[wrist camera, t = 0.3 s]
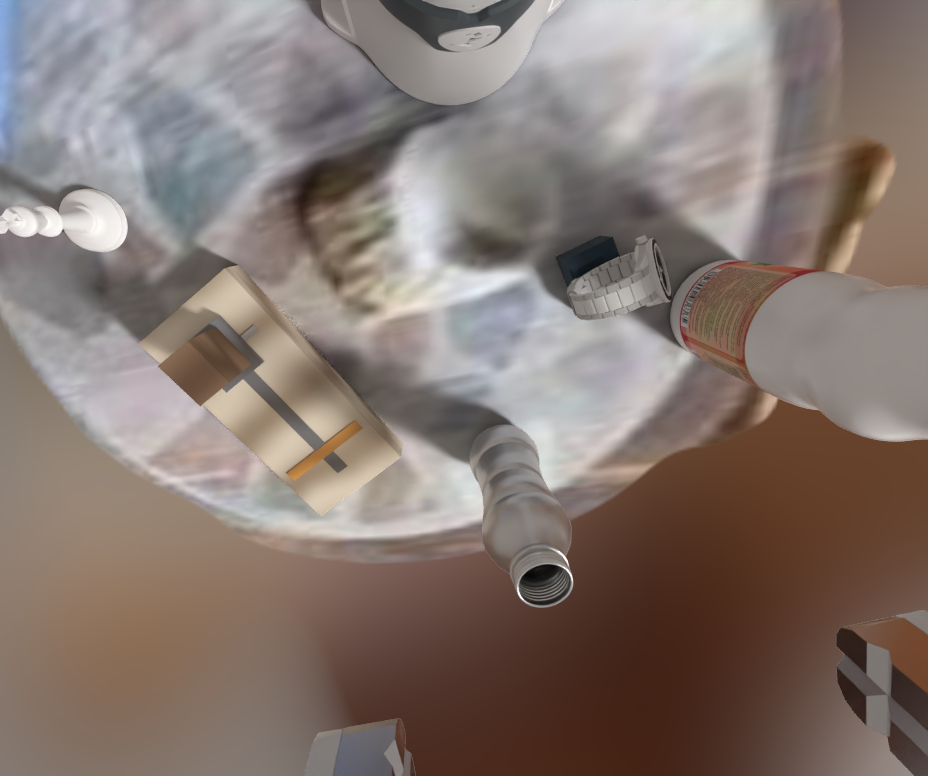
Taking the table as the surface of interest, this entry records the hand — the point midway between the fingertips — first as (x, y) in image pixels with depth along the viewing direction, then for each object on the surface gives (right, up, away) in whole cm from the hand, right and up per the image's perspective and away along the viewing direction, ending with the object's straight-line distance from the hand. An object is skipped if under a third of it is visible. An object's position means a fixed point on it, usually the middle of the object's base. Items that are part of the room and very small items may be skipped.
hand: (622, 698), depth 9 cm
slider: (-23, +9, +32) cm, 41 cm away
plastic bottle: (+1, 0, +41) cm, 41 cm away
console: (-20, +5, +37) cm, 42 cm away
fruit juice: (+21, +13, +38) cm, 45 cm away
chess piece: (-33, +19, +31) cm, 50 cm away
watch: (+9, +16, +36) cm, 40 cm away
